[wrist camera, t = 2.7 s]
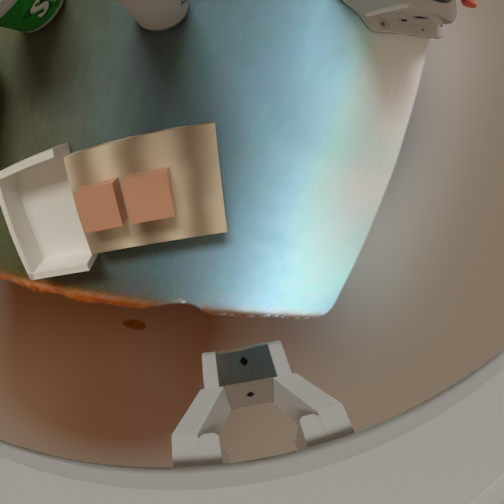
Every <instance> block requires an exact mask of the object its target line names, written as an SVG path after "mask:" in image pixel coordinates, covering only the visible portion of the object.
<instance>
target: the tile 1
mask: <svg viewBox="0 0 504 504" xmlns="http://www.w3.org/2000/svg"><path fill="white" fill-rule="evenodd" d="M73 195H74V199H75V203H76V206H77V209H78V213H79V216H80V219H81V222H82V225H83V228H84V231H85V234H86V233H90V232H95V231H100V230H105V229H110V228H115V227H120V226H123V225H124V223H125V221H126V220H127V218H128V215H127V212H126V208H125V204H124V200H123V195H122V191H121V187H120V182H119V178H118V177H116V178H111V179H107V180H103V181H99V182H95V183H91V184H88V185H84V186H81V187H80V188H78V189H77V190H76V191H75V192H74V193H73Z"/></svg>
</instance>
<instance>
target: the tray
mask: <svg viewBox="0 0 504 504" xmlns="http://www.w3.org/2000/svg"><path fill="white" fill-rule="evenodd" d="M69 154H71V152H70V146H69V142H68V143H65V144H62V145H59V146H57V147H54V148H51V149H49V150H46V151H43V152H41V153H38V154H36V155H33V156H31V157H29V158H26V159H24V160H22V161H20V162H17V163H15V164H13V165H11V166H9V167H7V168H5V169H3V170H1V171H0V205H1V208H2V211H3V214H4V217H5V220H6V223H7V226H8V229H9V231H10V234H11V237H12V239H13V242H14V244H15V247H16V249H17V251H18V254H19V256H20V258H21V261H22V263H23V265H24V267H25V269H26V271H27V273H28V276H29V278H30V280H35V279H41V278H47V277H53V276H60V275H66V274H72V273H78V272H84V271H90V269H91V267H92V265H93V263H94V261H95V259H96V258H97V256H98V254H99V253H96V254H91V251H90V248H89V245H88V243H87V240H86V237H85V234H84V231H83V228H82V225H81V222H80V219H79V216H78V212H77V209H76V206H75V202H74V199H73V195H72V191H71V188H70V184H69V180H68V176H67V172H66V167H65V163H64V158H63V157H65V156H67V155H69Z"/></svg>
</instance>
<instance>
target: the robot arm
mask: <svg viewBox="0 0 504 504" xmlns="http://www.w3.org/2000/svg"><path fill="white" fill-rule="evenodd" d="M342 1H343V2H344V3H345V4H347V5H348V6H349V7H351V8H352V9H353V10H354V11H356V12H357V13H358V14H359V15H360V17H361V18H362V20H363V21H364V23H365V24H366V25H367V27H368V28H369V29H370V30H372V31H374V32H383V33H397V34H407V35H416V36H423V37H430V38H436V39H438V38H442V36H443V34H444V31H445V24H450V23H452V22H453V21H454V20H455V18H456V0H342ZM461 1H462V4H463V5H464V6H466V7H470V8H474V7H477V5H476V2H475V0H461ZM381 23H382V24H383V26H382V25H381ZM202 368H203V380H204V389H201V390H200V391H199V393H198V394H197V396H196V398H195V399H194V401H193V402H192V404H191V406H190V407H189V409H188V410H187V412H186V414H185V415H184V417H183V418H182V420H181V421H180V423H179V425H178V426H177V428H176V429H175V431H174V432H173V434H172V453H173V454H172V455H173V467H167V468H166V467H165V468H164V467H162V468H161V467H159V468H158V467H131V466H117V465H108V464H99V463H92V462H85V461H79V460H73V459H68V458H63V457H58V456H53V455H50V454H46V453H41V452H38V451H34V450H30V449H27V448H24V447H20V446H17V445H14V444H12V443H9V442H6V441H2V440H0V504H504V350H503V351H500V352H499V353H497V354H496V355H495V356H493V357H492V358H491V359H490V360H488V361H487V362H485V363H484V364H483V365H481V366H480V367H479V368H477V369H476V370H474V371H473V372H471V373H470V374H468V375H467V376H466V377H464V378H463V379H461V380H459V381H458V382H456V383H455V384H453V385H452V386H450V387H448V388H447V389H445V390H443V391H442V392H440V393H438V394H436V395H435V396H433V397H431V398H429V399H428V400H426V401H424V402H422V403H420V404H418V405H416V406H414V407H412V408H410V409H408V410H406V411H404V412H402V413H400V414H398V415H396V416H394V417H391V418H389V419H387V420H385V421H382V422H380V423H378V424H375V425H373V426H370V427H368V428H366V429H363V430H360V431H358V432H354V430H353V428H352V426H351V423H350V421H349V419H348V416H347V414H346V412H345V410H344V407H343V405H342V404H341V403H340V402H338V401H337V400H335V399H334V398H332V397H331V396H329V395H328V394H326V393H325V392H323V391H322V390H320V389H319V388H317V387H316V386H314V385H313V384H311V383H310V382H308V381H307V380H306V379H304V378H303V377H301V376H300V375H298V374H297V373H292V372H291V369H290V366H289V363H288V360H287V358H286V355H285V352H284V349H283V346H282V343H281V342H280V340H279V341H274V342H269V343H263V344H257V345H252V346H247V347H242V348H239V349H231V350H224V351H215V352H209V353H202ZM268 402H274V403H275V404H276V405H277V406H278V407H279V408H280V409H282V410H283V411H284V412H285V413H286V414H287V415H288V416H289V417H291V418H292V419H293V420H294V421H295V422H296V423H298V424H299V427H298V432H297V436H296V441H295V443H296V446H297V451H293V452H289V453H284V454H280V455H275V456H271V457H265V458H260V459H255V460H248V461H243V462H235V463H230V459H229V455H228V453H227V451H226V449H225V447H224V445H223V443H222V442H221V440H220V438H219V436H220V434H221V431H222V429H223V427H224V425H225V423H226V421H227V418H228V416H229V414H230V412H231V409H235V408H240V407H245V406H251V405H256V404H263V403H268Z"/></svg>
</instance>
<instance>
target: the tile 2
mask: <svg viewBox="0 0 504 504" xmlns="http://www.w3.org/2000/svg"><path fill="white" fill-rule="evenodd" d="M121 185H122V190H123V194H124V198H125V202H126V206H127V210H128V214H129V218H130V222H131V224H136V223H142V222H147V221H153V220H159V219H164V218H170V217H175V213H176V204H175V198H174V193H173V187H172V181H171V176H170V170H169V167H164V168H158V169H153V170H148V171H143V172H138V173H134V174H129V175H126V176H125V177H124V178H123V179H122V180H121Z"/></svg>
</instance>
